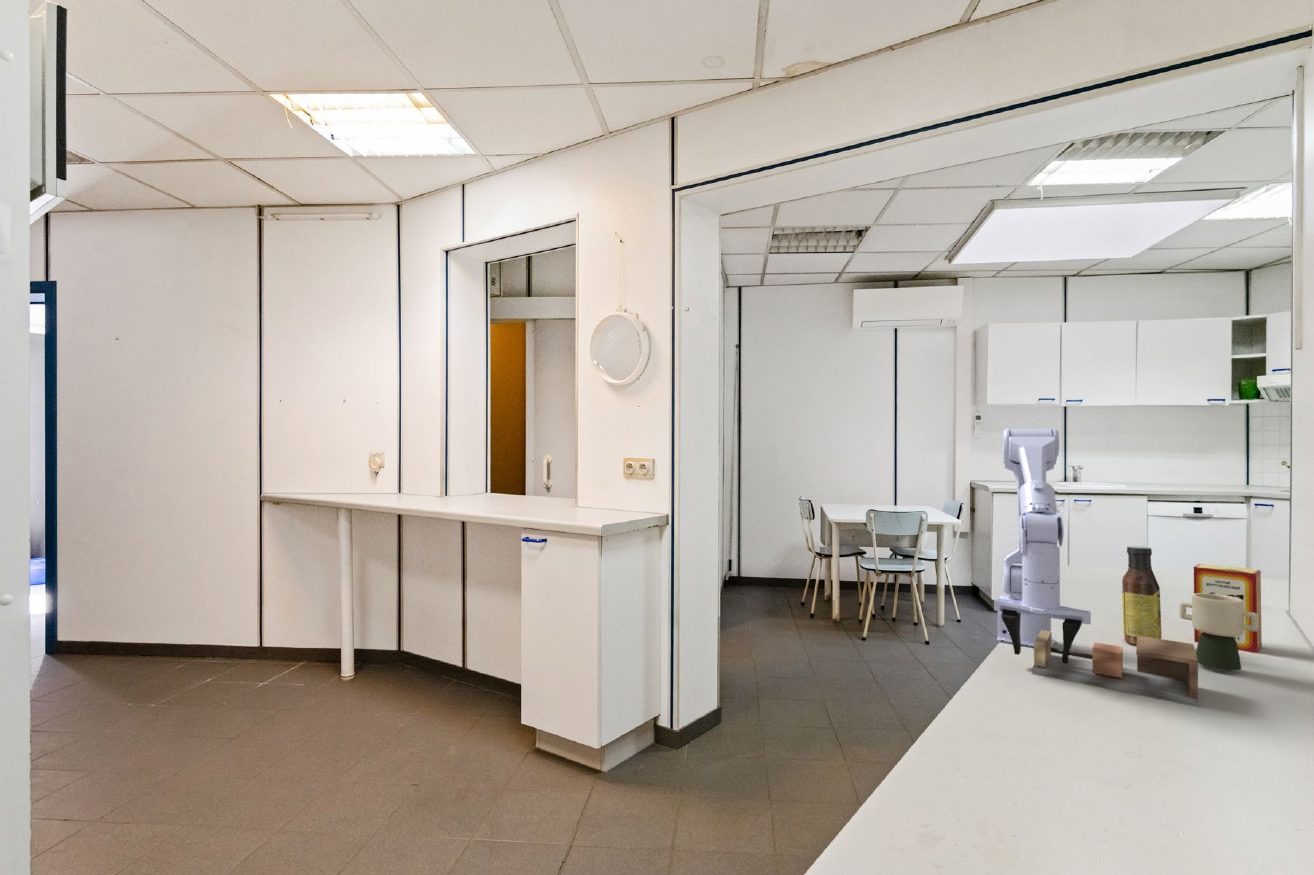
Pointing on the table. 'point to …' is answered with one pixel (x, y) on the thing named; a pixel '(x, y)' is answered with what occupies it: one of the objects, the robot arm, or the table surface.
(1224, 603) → the character mug
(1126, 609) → the sauce bottle
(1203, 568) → the baking soda box
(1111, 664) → the pull block
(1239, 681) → the table surface
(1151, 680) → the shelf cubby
